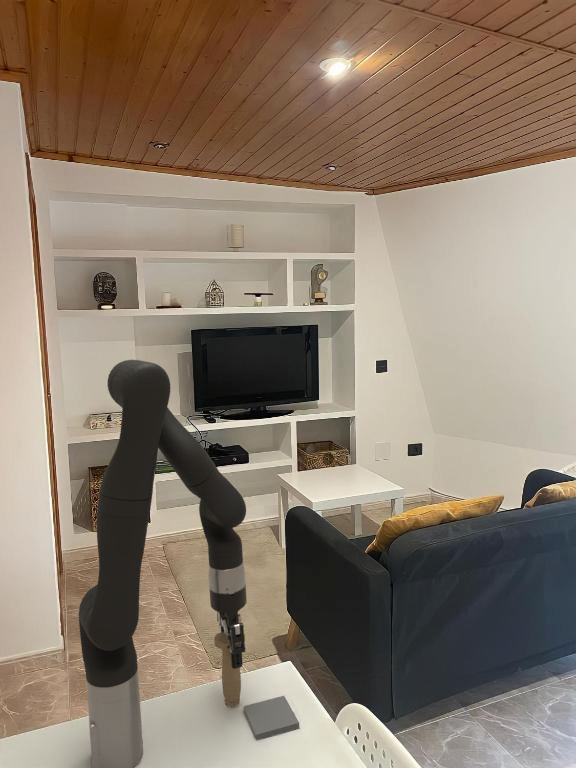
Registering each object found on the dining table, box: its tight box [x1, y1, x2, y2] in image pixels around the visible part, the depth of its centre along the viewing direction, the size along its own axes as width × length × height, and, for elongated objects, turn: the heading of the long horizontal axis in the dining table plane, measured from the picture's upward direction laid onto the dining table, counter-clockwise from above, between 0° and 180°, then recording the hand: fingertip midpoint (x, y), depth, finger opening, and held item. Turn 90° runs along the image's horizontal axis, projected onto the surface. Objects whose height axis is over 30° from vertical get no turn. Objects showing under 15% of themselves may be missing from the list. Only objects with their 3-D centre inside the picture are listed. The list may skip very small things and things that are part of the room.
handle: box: [213, 631, 246, 708], centre depth 125 cm, size 5×6×15 cm
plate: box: [242, 695, 300, 741], centre depth 120 cm, size 9×9×1 cm
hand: (232, 655), depth 125 cm, fingers open, 8 cm apart
